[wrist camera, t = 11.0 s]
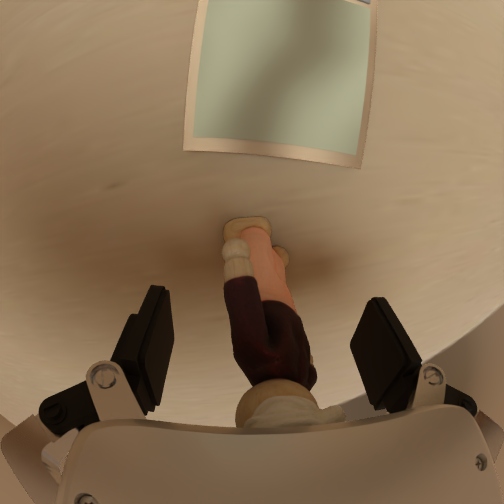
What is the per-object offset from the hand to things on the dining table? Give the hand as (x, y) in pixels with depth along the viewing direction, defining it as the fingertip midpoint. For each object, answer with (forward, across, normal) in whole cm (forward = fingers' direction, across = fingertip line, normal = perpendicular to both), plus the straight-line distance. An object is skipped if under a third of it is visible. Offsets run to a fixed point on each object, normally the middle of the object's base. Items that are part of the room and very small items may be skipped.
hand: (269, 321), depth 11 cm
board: (+6, 0, -20) cm, 21 cm away
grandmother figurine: (+6, 0, 0) cm, 6 cm away
